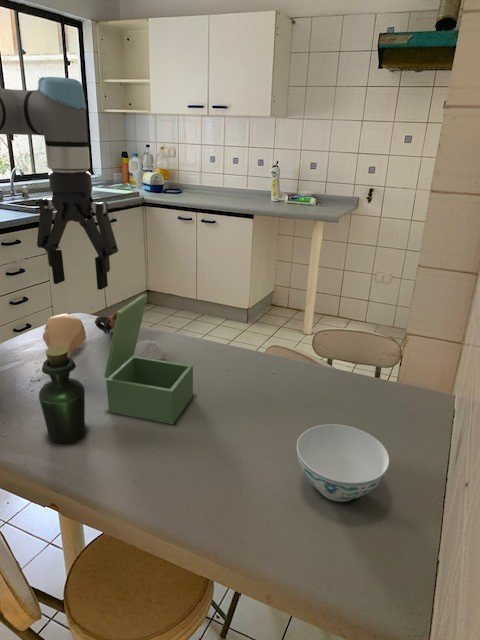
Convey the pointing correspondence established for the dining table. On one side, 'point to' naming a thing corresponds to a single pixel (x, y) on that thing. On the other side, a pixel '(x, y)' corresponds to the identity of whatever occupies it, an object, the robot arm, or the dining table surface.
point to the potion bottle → (62, 398)
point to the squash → (64, 332)
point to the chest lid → (125, 334)
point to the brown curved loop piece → (106, 322)
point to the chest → (150, 389)
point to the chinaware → (341, 461)
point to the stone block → (148, 350)
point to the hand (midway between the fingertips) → (80, 284)
